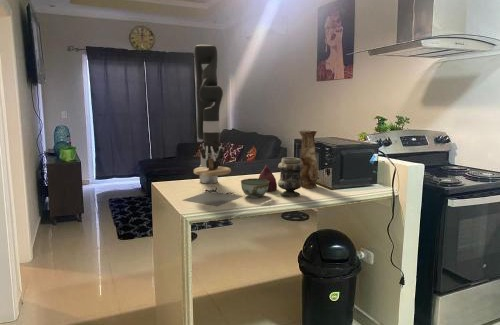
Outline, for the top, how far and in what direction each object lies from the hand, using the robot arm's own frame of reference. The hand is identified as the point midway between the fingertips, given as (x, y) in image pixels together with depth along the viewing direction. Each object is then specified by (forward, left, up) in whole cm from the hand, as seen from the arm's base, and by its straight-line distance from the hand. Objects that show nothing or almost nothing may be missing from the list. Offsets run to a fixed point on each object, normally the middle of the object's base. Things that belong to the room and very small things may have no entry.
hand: (212, 168), depth 176 cm
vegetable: (+12, +30, -15) cm, 36 cm away
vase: (+27, +48, -15) cm, 57 cm away
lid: (0, 0, -2) cm, 2 cm away
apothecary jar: (+27, +26, -15) cm, 40 cm away
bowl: (+15, +13, -15) cm, 25 cm away
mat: (0, 0, -15) cm, 15 cm away
